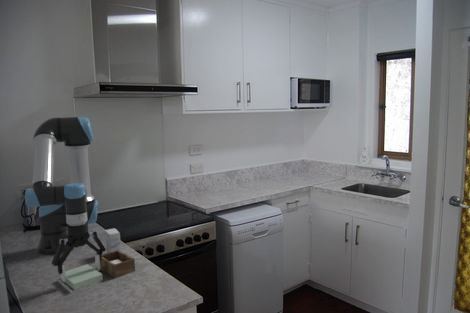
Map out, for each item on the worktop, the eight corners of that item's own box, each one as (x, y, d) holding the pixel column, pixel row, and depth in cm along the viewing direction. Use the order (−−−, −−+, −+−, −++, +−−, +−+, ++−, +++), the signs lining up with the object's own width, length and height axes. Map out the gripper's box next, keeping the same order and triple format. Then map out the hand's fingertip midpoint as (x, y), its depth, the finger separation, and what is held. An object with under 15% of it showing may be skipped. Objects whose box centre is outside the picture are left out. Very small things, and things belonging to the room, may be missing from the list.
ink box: (122, 257, 166) (120, 232, 164) (111, 259, 163) (109, 234, 162) (117, 251, 173) (115, 227, 172) (106, 253, 170) (104, 229, 169)
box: (99, 269, 153) (98, 256, 152) (119, 263, 159) (118, 250, 158) (114, 280, 143) (113, 265, 142) (135, 272, 149) (134, 258, 149)
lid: (61, 280, 144) (60, 272, 144) (88, 271, 152) (87, 264, 151) (74, 292, 134) (73, 284, 134) (103, 282, 142) (102, 274, 141)
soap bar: (109, 268, 152) (108, 261, 151) (118, 265, 155) (117, 259, 154) (115, 273, 148) (115, 266, 147) (124, 269, 150) (124, 263, 150)
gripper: (46, 233, 129) (51, 289, 131) (112, 217, 146) (115, 267, 149) (39, 228, 134) (44, 282, 136) (103, 214, 151) (107, 262, 154)
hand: (81, 274), depth 143 cm, fingers open, 13 cm apart
